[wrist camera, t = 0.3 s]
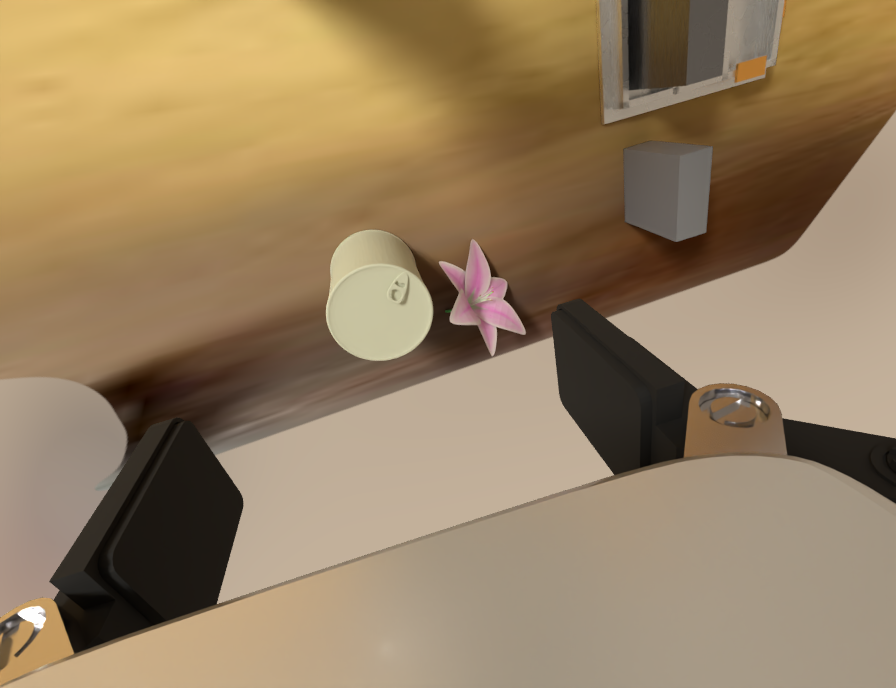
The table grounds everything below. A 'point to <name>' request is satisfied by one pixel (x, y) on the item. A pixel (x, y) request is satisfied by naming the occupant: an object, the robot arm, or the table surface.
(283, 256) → the table surface
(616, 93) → the rack
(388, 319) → the can
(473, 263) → the lily
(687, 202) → the panel
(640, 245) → the table surface
